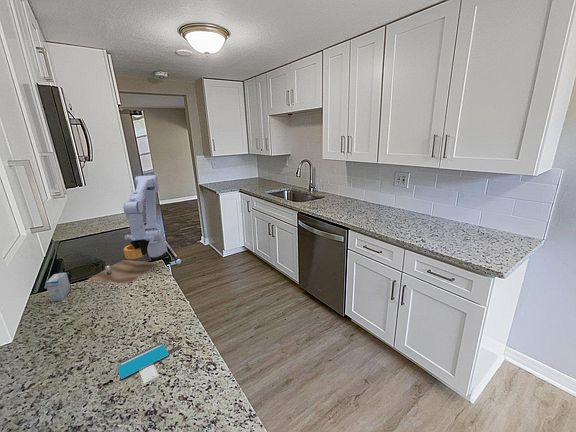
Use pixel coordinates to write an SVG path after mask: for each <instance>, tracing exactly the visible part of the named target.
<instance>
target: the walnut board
mask: <svg viewBox="0 0 576 432" xmlns="http://www.w3.org/2000/svg"><path fill="white" fill-rule="evenodd" d="M159 264H160V262H152V261H151V262H150V261H142V260H141V261H139V260H137V261H136V260H130V259H128V260H127V259H126V260H125V259H122V260H120V261H119V262H116V263H114V264H113V265H110V267H111V271H112V274H111V275H107V272H106V268H105V269H103V270H102V271H100V272H98V273H96V274H95V275H92V276H91V277H89V278H87V280H89V281H100V282H108V283H109V282H111V283H119V284H130V283H132V282H133V281H135V280H136V279H138V278H139V277H141V276H142V275H143V274H145V273H147V272H148V271H150V270H151V269H153V268H154V267H156V266H158V265H159Z"/></svg>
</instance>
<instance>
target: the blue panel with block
mask: <svg viewBox="0 0 576 432" xmlns="http://www.w3.org/2000/svg"><path fill="white" fill-rule="evenodd" d="M180 349H182V346H181V344H179V345H177V346H174V347H173V348H170V349H167V348H166V346H165V344H162V343H161V342H160V343H157V344H155V345H153V346H151V347H149V348H146V349H145V350H143V351H141V352H140V351H139V352H138V353H136V354H134V355H132V356H130V357H128V358H126V359H124V360H122V361H120V362H119V365H118V366H117V370H118V372H119V373H118V375H119V374H120V378H121V379H120V380H123V379H124V378H127V377H128V376H131V375H132V374H134V373H137V372H139V374H140V375H139V376H140V377H141V380H142V383H143V384H144V385H145V384H147V383H149V382H150V381H152V380H155V379H156V378H158V377H159V373H158V371H157V369H156V367H155V365H154V363H157V361H160V360H162V359H164V358H166V357H168V356H169V355H171V354H173V353H174V352H176V351H178V350H180ZM153 376H154V377H153Z"/></svg>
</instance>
